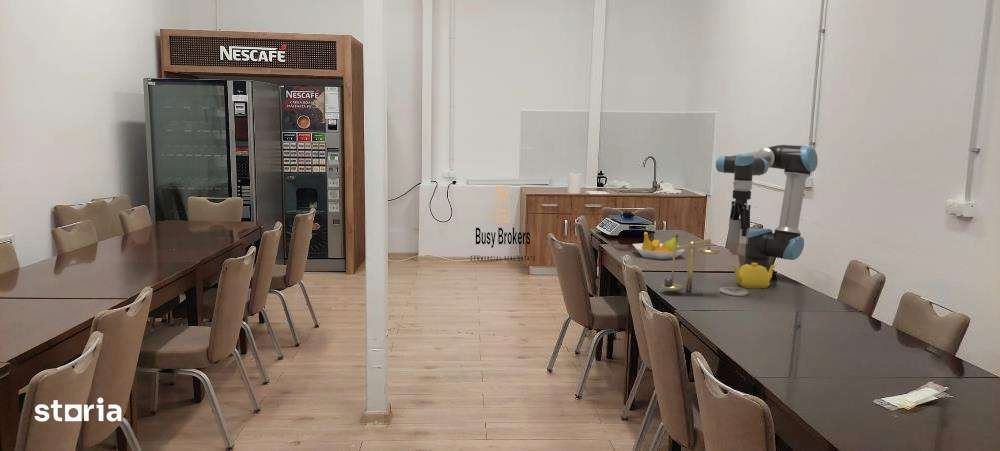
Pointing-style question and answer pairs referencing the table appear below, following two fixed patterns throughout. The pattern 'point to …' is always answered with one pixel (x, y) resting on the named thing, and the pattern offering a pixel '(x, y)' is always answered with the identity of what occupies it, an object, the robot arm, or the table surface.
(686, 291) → the balance
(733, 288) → the dish
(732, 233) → the cup
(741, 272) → the teapot
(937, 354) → the table surface
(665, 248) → the fruit
